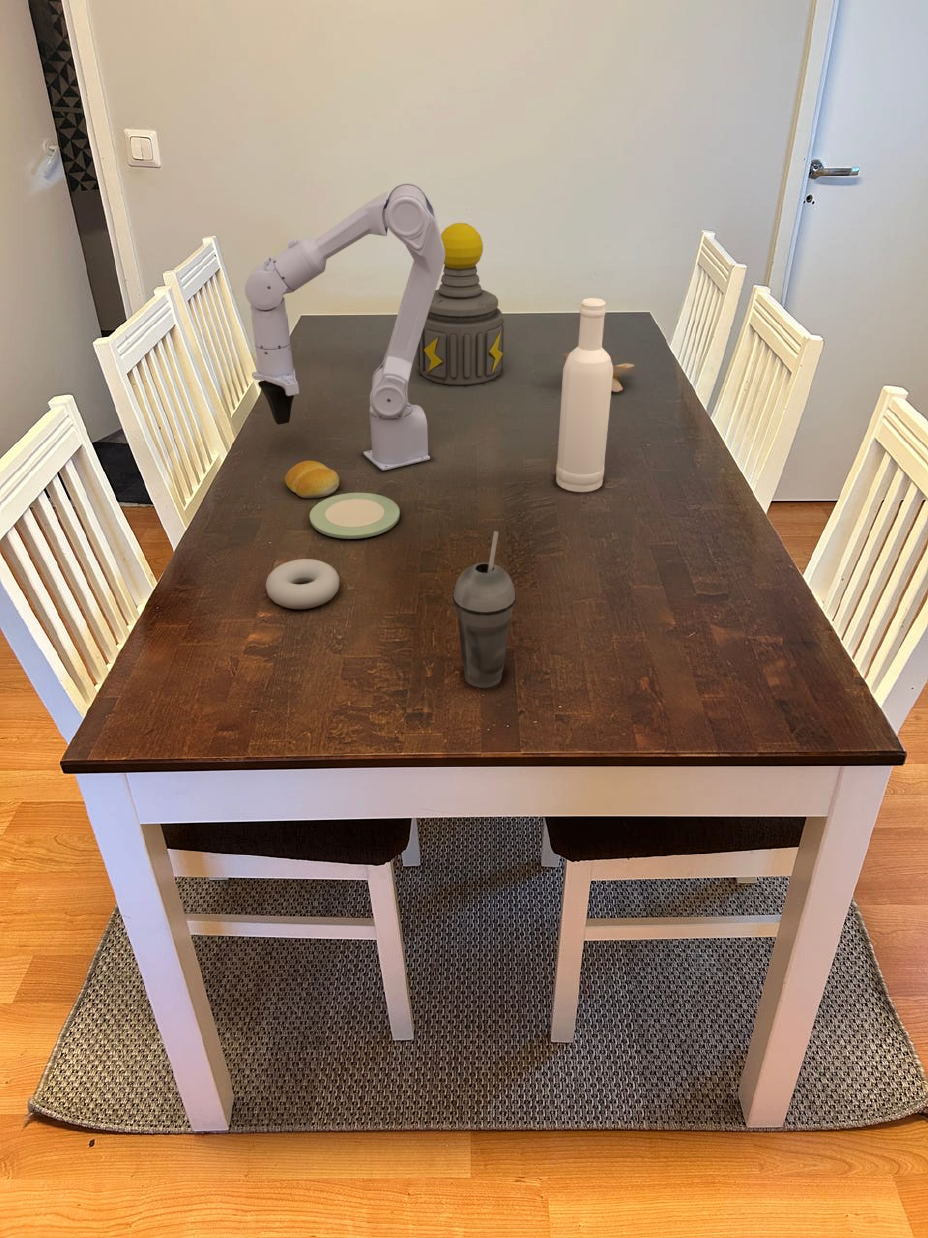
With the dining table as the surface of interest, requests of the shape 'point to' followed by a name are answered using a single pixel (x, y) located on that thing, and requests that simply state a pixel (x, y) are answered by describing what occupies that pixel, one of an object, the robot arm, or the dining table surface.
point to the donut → (302, 596)
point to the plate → (354, 515)
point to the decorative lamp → (461, 318)
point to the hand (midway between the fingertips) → (282, 422)
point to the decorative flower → (614, 373)
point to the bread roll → (312, 480)
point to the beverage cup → (484, 619)
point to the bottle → (585, 405)
